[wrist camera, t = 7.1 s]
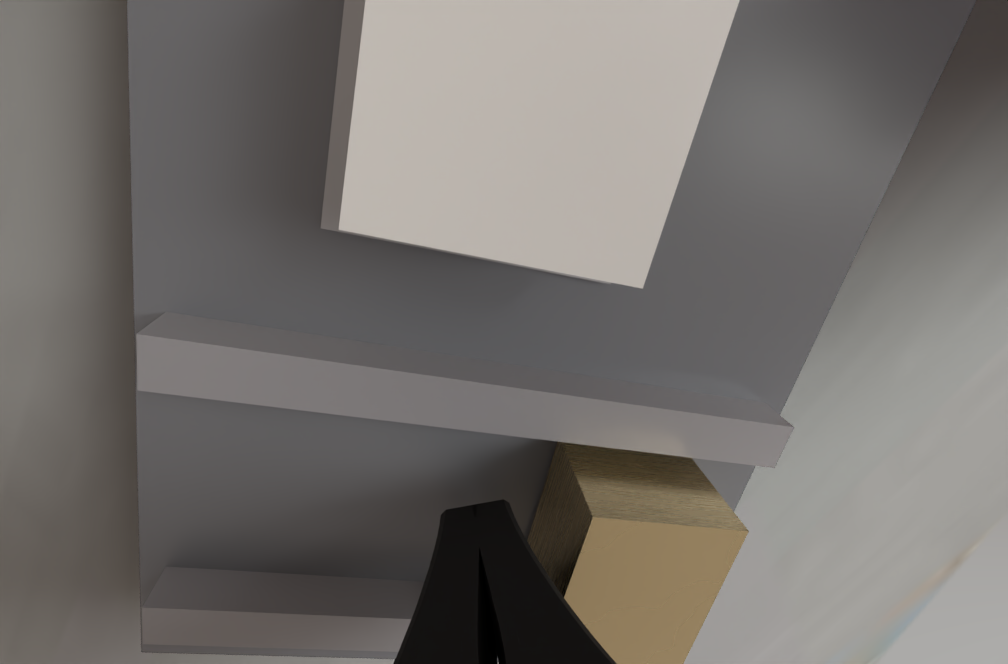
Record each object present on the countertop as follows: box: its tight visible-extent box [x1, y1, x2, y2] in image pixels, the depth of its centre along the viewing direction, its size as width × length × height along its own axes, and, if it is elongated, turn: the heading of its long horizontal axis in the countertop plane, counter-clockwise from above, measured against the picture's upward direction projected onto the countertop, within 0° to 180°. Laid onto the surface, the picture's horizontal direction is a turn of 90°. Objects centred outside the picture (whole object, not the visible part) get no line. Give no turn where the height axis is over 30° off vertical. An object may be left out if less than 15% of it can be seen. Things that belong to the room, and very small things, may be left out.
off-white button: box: [339, 0, 740, 289], centre depth 7 cm, size 4×4×2 cm
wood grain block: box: [527, 442, 749, 664], centre depth 11 cm, size 3×4×2 cm
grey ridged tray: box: [127, 0, 977, 662], centre depth 9 cm, size 13×24×3 cm, turn 167°
